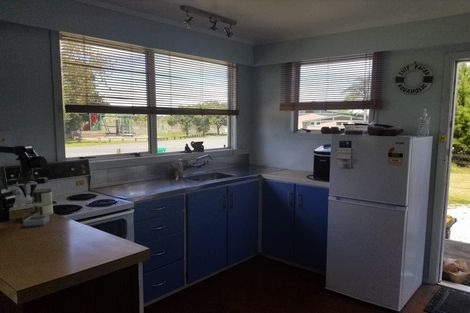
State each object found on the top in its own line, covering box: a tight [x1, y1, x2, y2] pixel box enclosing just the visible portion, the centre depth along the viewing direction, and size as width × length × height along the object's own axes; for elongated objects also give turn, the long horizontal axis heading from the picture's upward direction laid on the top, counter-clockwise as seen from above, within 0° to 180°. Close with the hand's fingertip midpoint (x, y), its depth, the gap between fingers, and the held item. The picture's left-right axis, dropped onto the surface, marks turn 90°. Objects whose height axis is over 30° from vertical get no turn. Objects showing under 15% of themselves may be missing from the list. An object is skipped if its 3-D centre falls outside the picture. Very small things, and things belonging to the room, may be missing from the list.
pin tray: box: [22, 215, 51, 228], centre depth 182 cm, size 10×10×3 cm
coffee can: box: [32, 188, 54, 216], centre depth 202 cm, size 10×10×14 cm
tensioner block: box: [21, 210, 40, 223], centre depth 190 cm, size 9×6×4 cm, turn 12°
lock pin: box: [25, 191, 33, 205], centre depth 187 cm, size 2×2×6 cm
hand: (28, 197), depth 187 cm, fingers closed on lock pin, 2 cm apart
